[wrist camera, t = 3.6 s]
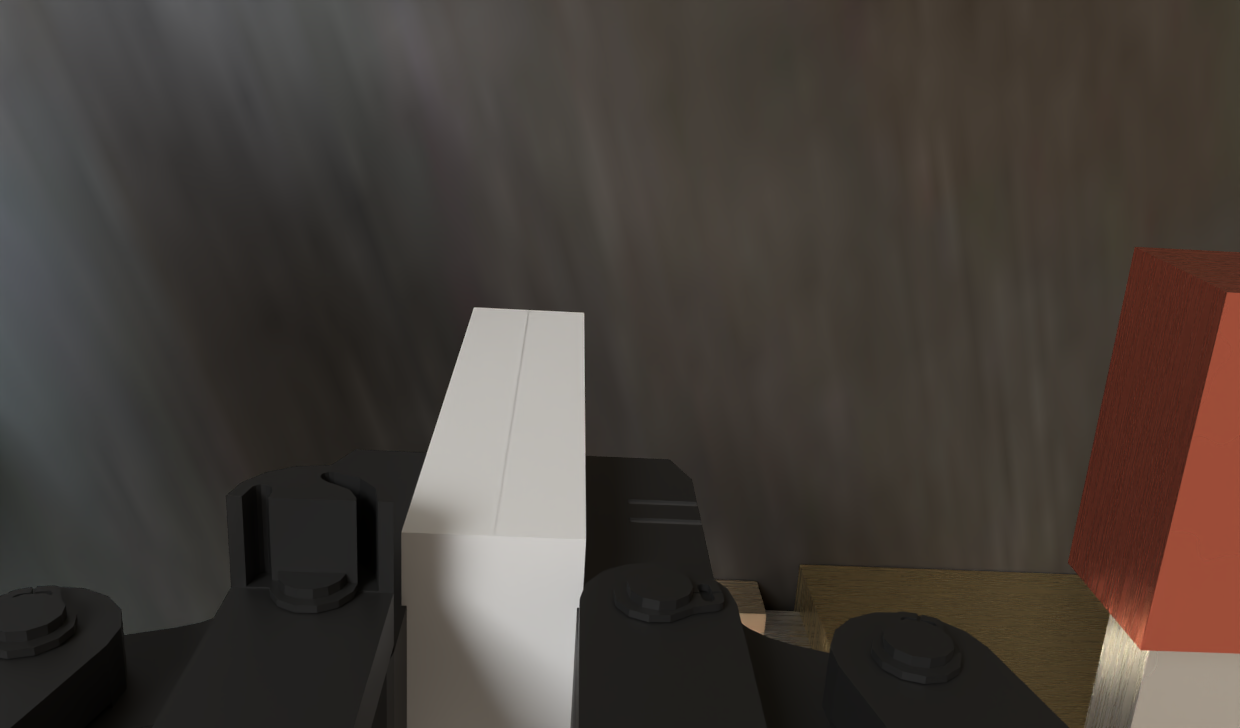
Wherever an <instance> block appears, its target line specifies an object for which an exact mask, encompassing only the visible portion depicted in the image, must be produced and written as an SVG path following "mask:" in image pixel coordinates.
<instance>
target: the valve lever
mask: <svg viewBox="0 0 1240 728" xmlns="http://www.w3.org/2000/svg"><path fill="white" fill-rule="evenodd" d="M1068 563H1069V565H1070V566H1071V567H1072V568H1073V569H1074V571H1075V572H1076V573H1077V574H1078V575H1079V577H1080V578H1081V579H1082V580H1083V581H1084V583H1085V584H1086V585H1087V586H1088V587H1089V589H1090V590H1091V591H1092V592H1093V593H1094V595H1095V596H1096V597H1097V598H1098V600H1099V601H1100V602H1101V603H1102V604H1103V606H1104V607H1105V608H1106V609H1107V610H1108V612H1109V613H1110V616H1109V621H1108V625H1107V629H1106V634H1105V638H1104V642H1103V647H1102V651H1101V655H1100V660H1099V664H1098V669H1097V673H1096V677H1095V682H1094V686H1093V690H1092V695H1091V699H1090V704H1089V708H1088V712H1087V717H1086V721H1085V725H1084V728H1240V252H1221V251H1202V250H1183V249H1164V248H1145V247H1135V249H1134V254H1133V258H1132V263H1131V268H1130V272H1129V277H1128V282H1127V287H1126V291H1125V296H1124V301H1123V306H1122V310H1121V315H1120V320H1119V324H1118V329H1117V334H1116V339H1115V343H1114V348H1113V353H1112V358H1111V362H1110V367H1109V372H1108V376H1107V381H1106V386H1105V391H1104V395H1103V400H1102V405H1101V409H1100V414H1099V419H1098V424H1097V428H1096V433H1095V438H1094V443H1093V447H1092V452H1091V457H1090V461H1089V466H1088V471H1087V476H1086V480H1085V485H1084V490H1083V495H1082V499H1081V504H1080V509H1079V513H1078V518H1077V523H1076V528H1075V532H1074V537H1073V542H1072V547H1071V551H1070V556H1069V561H1068Z"/></svg>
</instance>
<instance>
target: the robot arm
mask: <svg viewBox="0 0 1240 728" xmlns="http://www.w3.org/2000/svg"><path fill="white" fill-rule="evenodd" d="M226 503H227V520H228V538H229V555H230V573H231V589H230V590H229V592H228V594H227V596H226V597H225V599H224V601H223V603H222V605H221V606H220V608H219V610H218V612H217V613H216V615H215V617H214V618H213V619H210V620H207V621H204V622H201V623H196V624H191V625H187V626H182V627H177V628H171V629H164V630H157V631H150V632H143V633H136V634H129V635H124V633H123V623H122V612H121V609H120V608H119V607H118V606H117V605H116V604H115V603H114V602H113V601H112V600H111V599H110V598H109V597H108V596H106V595H103V594H100V593H96V592H93V591H90V590H87V589H84V588H69V587H58V586H37V588H36V589H32V587H29V588H23V589H17V590H14V591H11V592H9V593H8V594H5V595H1V596H0V728H1069V727H1068V726H1067V725H1066V724H1065V723H1064V722H1063V721H1062V720H1061V719H1060V718H1059V717H1058V716H1057V715H1056V714H1055V713H1054V712H1053V711H1052V710H1051V709H1050V708H1049V707H1048V706H1047V705H1046V704H1045V703H1044V702H1043V701H1042V700H1041V699H1040V698H1039V697H1038V696H1037V695H1036V694H1035V693H1034V692H1033V691H1032V690H1031V689H1030V688H1029V687H1028V686H1027V685H1026V684H1025V683H1024V682H1023V681H1022V680H1021V679H1020V678H1018V677H1017V676H1016V675H1015V674H1014V673H1013V672H1012V671H1011V670H1010V669H1009V668H1008V667H1007V666H1006V665H1005V664H1004V663H1003V662H1002V661H1001V660H1000V659H999V658H998V657H997V656H996V655H995V654H994V653H993V652H992V651H991V650H990V649H989V648H988V647H987V646H985V645H984V644H982V643H981V642H980V641H978V640H977V639H976V638H974V637H973V636H971V635H970V634H969V633H967V632H966V631H963V630H961V629H959V628H956V627H954V626H952V625H949V624H947V623H944V622H942V621H940V620H939V619H937V618H934V617H930V616H926V615H922V614H921V616H919V615H917V613H910V612H897V613H896V612H874V613H870V614H866V615H862V616H858V617H854V618H850V619H849V620H848V621H846V622H845V623H844V624H842V625H841V626H840V627H838V628H837V629H835V631H834V635H833V638H832V642H831V645H830V651H829V653H827V652H823V651H818V650H814V649H809V648H805V647H801V646H796V645H792V644H789V643H785V642H782V641H779V640H775V639H772V638H769V637H767V636H765V635H762V634H760V633H758V632H756V631H754V630H751V629H749V628H748V627H746V626H745V625H743V624H742V622H741V618H740V614H739V610H738V606H737V603H736V602H735V600H734V598H733V597H732V595H731V593H730V592H729V590H728V589H727V588H726V587H724V586H723V585H722V584H720V583H719V582H717V581H716V580H714V578H713V573H712V569H711V564H710V560H709V555H708V550H707V546H706V541H705V537H704V532H703V528H702V525H701V519H700V514H699V509H698V506H697V500H696V496H695V491H694V487H693V482H692V479H691V478H690V477H688V476H687V475H686V474H685V473H684V472H683V471H682V470H681V469H680V468H678V467H677V466H676V465H675V464H674V463H673V462H672V461H671V460H668V459H644V458H621V457H597V456H585V358H584V313H578V312H558V311H538V310H517V309H497V308H476V307H474V309H473V312H472V315H471V318H470V321H469V324H468V328H467V331H466V334H465V337H464V340H463V343H462V346H461V349H460V352H459V355H458V358H457V362H456V365H455V368H454V371H453V374H452V377H451V380H450V383H449V386H448V389H447V393H446V396H445V399H444V402H443V405H442V408H441V411H440V414H439V417H438V420H437V424H436V427H435V430H434V433H433V436H432V439H431V442H430V445H429V448H428V451H427V453H424V452H400V451H376V450H354V451H353V452H351V453H350V454H348V455H346V456H345V457H343V458H342V459H340V460H339V461H337V462H336V463H334V464H332V465H331V466H329V465H322V466H296V467H291V468H286V469H281V470H276V471H271V472H266V473H264V474H261V475H259V476H256V477H254V478H251V479H249V480H247V481H244V482H242V483H240V484H239V485H238V486H237V487H236V488H235V489H233V490H232V491H231V492H230V493H229V494H228V495H227V496H226Z"/></svg>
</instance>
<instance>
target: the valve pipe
mask: <svg viewBox="0 0 1240 728" xmlns="http://www.w3.org/2000/svg"><path fill="white" fill-rule="evenodd" d="M716 581H717V582H719V583H720V584H722V585H723V586H724V587H726V588H727V589H728V590H729V592H730V593H731V595H732V597H733V598H734V600H735V602H736V603H737V606H738V610H739V614H740V618H741V622H742V624H743V625H745V626H746V627H748V628H749V629H751V630H754V631H756V632H758V633H760V634H762V635H765V636H767V637H769V638H772V639H775V640H779V641H782V642H785V643H789V644H792V645H796V646H801V647H805V648H809V649H814V650H818V651H823V652H827V653H829V651H830V645H831V642H832V638H833V635H834V631H835V629H837V628H838V627H840V626H841V625H842V624H844V623H845V622H846V621H848V620H849V619H850V618H854V617H858V616H862V615H866V614H870V613H874V612H896V613H897V612H910V613H917V615H919V616H921V614H922V615H926V616H930V617H934V618H937V619H939V620H940V621H942V622H944V623H947V624H949V625H952V626H954V627H956V628H959V629H961V630H963V631H966V632H967V633H969V634H970V635H971V636H973V637H974V638H976V639H977V640H978V641H980V642H981V643H982V644H984V645H985V646H987V647H988V648H989V649H990V650H991V651H992V652H993V653H994V654H995V655H996V656H997V657H998V658H999V659H1000V660H1001V661H1002V662H1003V663H1004V664H1005V665H1006V666H1007V667H1008V668H1009V669H1010V670H1011V671H1012V672H1013V673H1014V674H1015V675H1016V676H1017V677H1018V678H1020V679H1021V680H1022V681H1023V682H1024V683H1025V684H1026V685H1027V686H1028V687H1029V688H1030V689H1031V690H1032V691H1033V692H1034V693H1035V694H1036V695H1037V696H1038V697H1039V698H1040V699H1041V700H1042V701H1043V702H1044V703H1045V704H1046V705H1047V706H1048V707H1049V708H1050V709H1051V710H1052V711H1053V712H1054V713H1055V714H1056V715H1057V716H1058V717H1059V718H1060V719H1061V720H1062V721H1063V722H1064V723H1065V724H1066V725H1067V726H1068V727H1069V728H1084V725H1085V721H1086V717H1087V712H1088V708H1089V704H1090V699H1091V695H1092V690H1093V686H1094V682H1095V677H1096V673H1097V669H1098V664H1099V660H1100V655H1101V651H1102V647H1103V642H1104V638H1105V634H1106V629H1107V625H1108V621H1109V616H1110V613H1109V612H1108V610H1107V609H1106V608H1105V607H1104V606H1103V604H1102V603H1101V602H1100V601H1099V600H1098V598H1097V597H1096V596H1095V595H1094V593H1093V592H1092V591H1091V590H1090V589H1089V587H1088V586H1087V585H1086V584H1085V583H1084V581H1083V580H1082V579H1081V578H1080V577H1079V575H1070V574H1043V573H1016V572H989V571H962V570H935V569H908V568H881V567H854V566H827V565H800V567H799V575H798V583H797V591H796V599H795V607H794V611H766V610H765V608H764V604H763V601H762V598H761V594H760V591H759V587H758V584H757V581H736V580H716Z"/></svg>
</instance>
